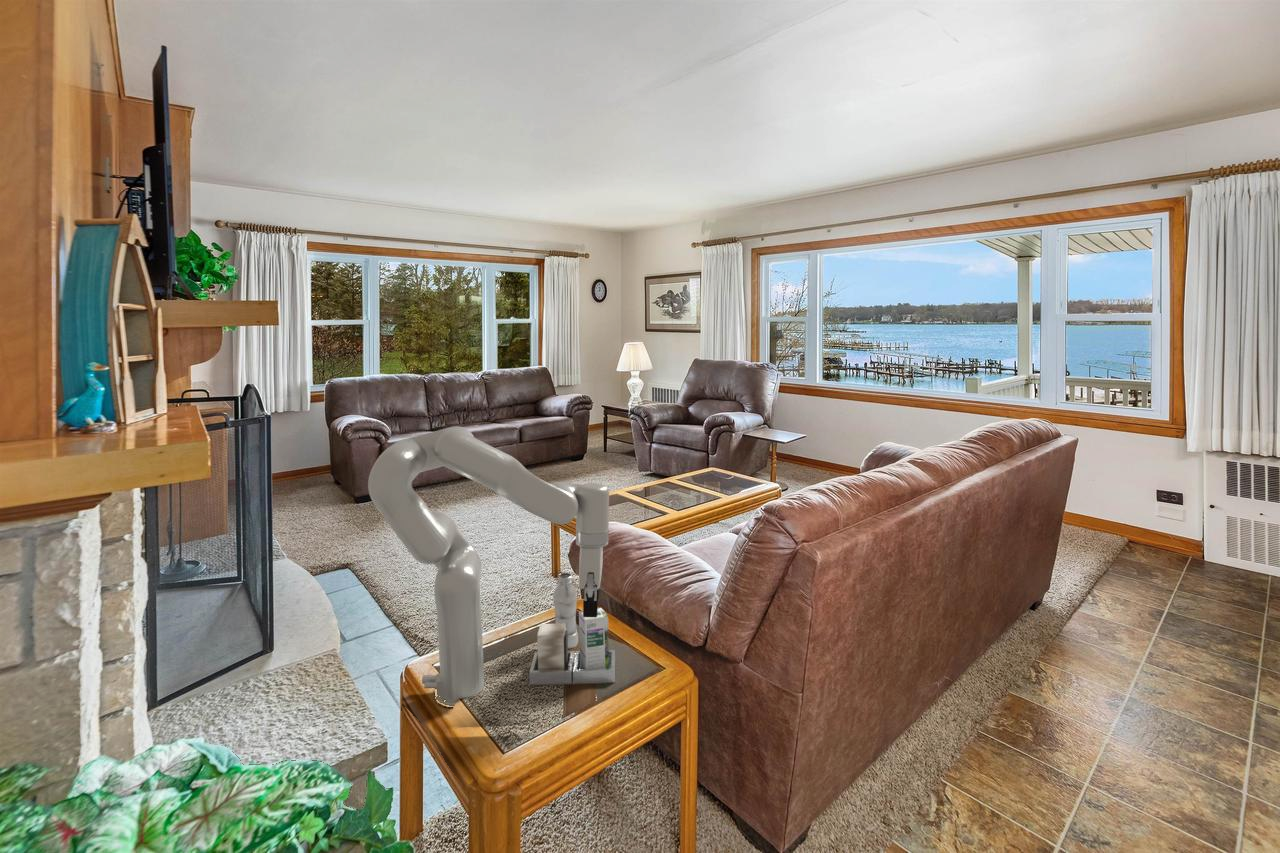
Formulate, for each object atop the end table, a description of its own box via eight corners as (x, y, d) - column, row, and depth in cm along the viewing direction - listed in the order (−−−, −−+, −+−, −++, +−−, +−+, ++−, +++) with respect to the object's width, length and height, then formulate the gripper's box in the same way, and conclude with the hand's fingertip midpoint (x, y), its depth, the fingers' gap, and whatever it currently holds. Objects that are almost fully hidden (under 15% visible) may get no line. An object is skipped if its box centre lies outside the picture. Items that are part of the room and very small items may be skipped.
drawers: (528, 691, 141) (528, 672, 140) (534, 669, 151) (534, 651, 150) (615, 688, 142) (615, 670, 141) (615, 666, 152) (615, 649, 151)
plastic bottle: (580, 643, 164) (579, 571, 162) (575, 655, 157) (574, 580, 155) (557, 642, 165) (555, 570, 162) (551, 654, 158) (549, 579, 155)
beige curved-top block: (538, 680, 143) (537, 635, 141) (541, 667, 149) (540, 624, 147) (566, 679, 143) (565, 634, 142) (568, 666, 149) (567, 623, 148)
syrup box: (585, 679, 143) (584, 619, 141) (579, 667, 148) (578, 609, 146) (609, 674, 145) (608, 616, 143) (602, 662, 150) (601, 606, 148)
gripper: (578, 526, 151) (577, 593, 152) (573, 548, 133) (572, 623, 135) (608, 526, 151) (607, 593, 153) (607, 549, 134) (606, 624, 136)
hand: (591, 607), depth 144 cm, fingers open, 9 cm apart
